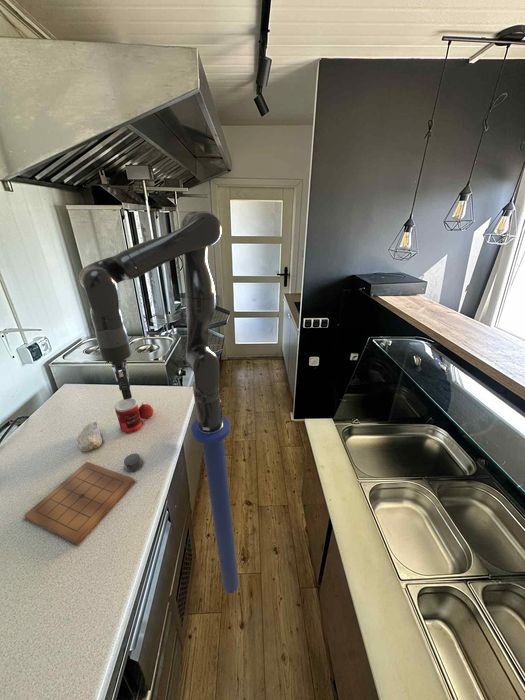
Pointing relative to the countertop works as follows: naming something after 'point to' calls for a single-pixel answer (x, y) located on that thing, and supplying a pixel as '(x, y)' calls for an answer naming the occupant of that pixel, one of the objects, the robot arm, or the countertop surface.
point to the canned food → (128, 415)
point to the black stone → (132, 462)
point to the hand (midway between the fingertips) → (126, 391)
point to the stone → (89, 437)
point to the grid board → (79, 502)
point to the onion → (145, 411)
